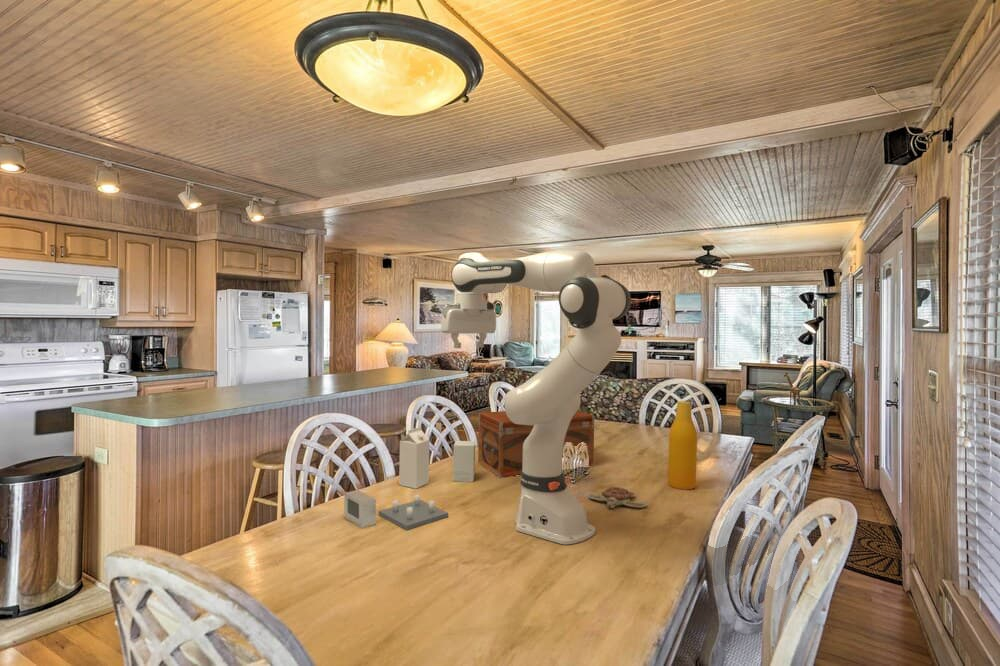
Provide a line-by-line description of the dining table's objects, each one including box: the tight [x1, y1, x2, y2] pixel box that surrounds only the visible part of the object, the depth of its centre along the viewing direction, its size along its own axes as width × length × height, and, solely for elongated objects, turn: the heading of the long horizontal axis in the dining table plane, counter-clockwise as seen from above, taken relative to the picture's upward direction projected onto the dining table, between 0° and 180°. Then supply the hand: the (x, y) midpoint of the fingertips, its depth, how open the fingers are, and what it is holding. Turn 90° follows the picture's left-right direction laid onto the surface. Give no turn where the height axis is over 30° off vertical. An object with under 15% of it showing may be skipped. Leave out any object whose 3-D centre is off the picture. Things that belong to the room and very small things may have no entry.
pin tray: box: [378, 493, 449, 531], centre depth 146 cm, size 14×14×4 cm
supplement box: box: [452, 440, 476, 483], centre depth 181 cm, size 7×7×13 cm
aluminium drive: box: [343, 489, 377, 529], centre depth 141 cm, size 10×4×7 cm, turn 44°
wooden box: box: [477, 410, 595, 479], centre depth 199 cm, size 20×41×20 cm, turn 115°
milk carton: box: [398, 426, 430, 489], centre depth 173 cm, size 7×7×19 cm
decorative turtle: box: [587, 486, 647, 509], centre depth 160 cm, size 18×17×5 cm
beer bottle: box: [667, 400, 698, 490], centre depth 177 cm, size 9×9×29 cm
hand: (469, 347), depth 163 cm, fingers open, 8 cm apart
